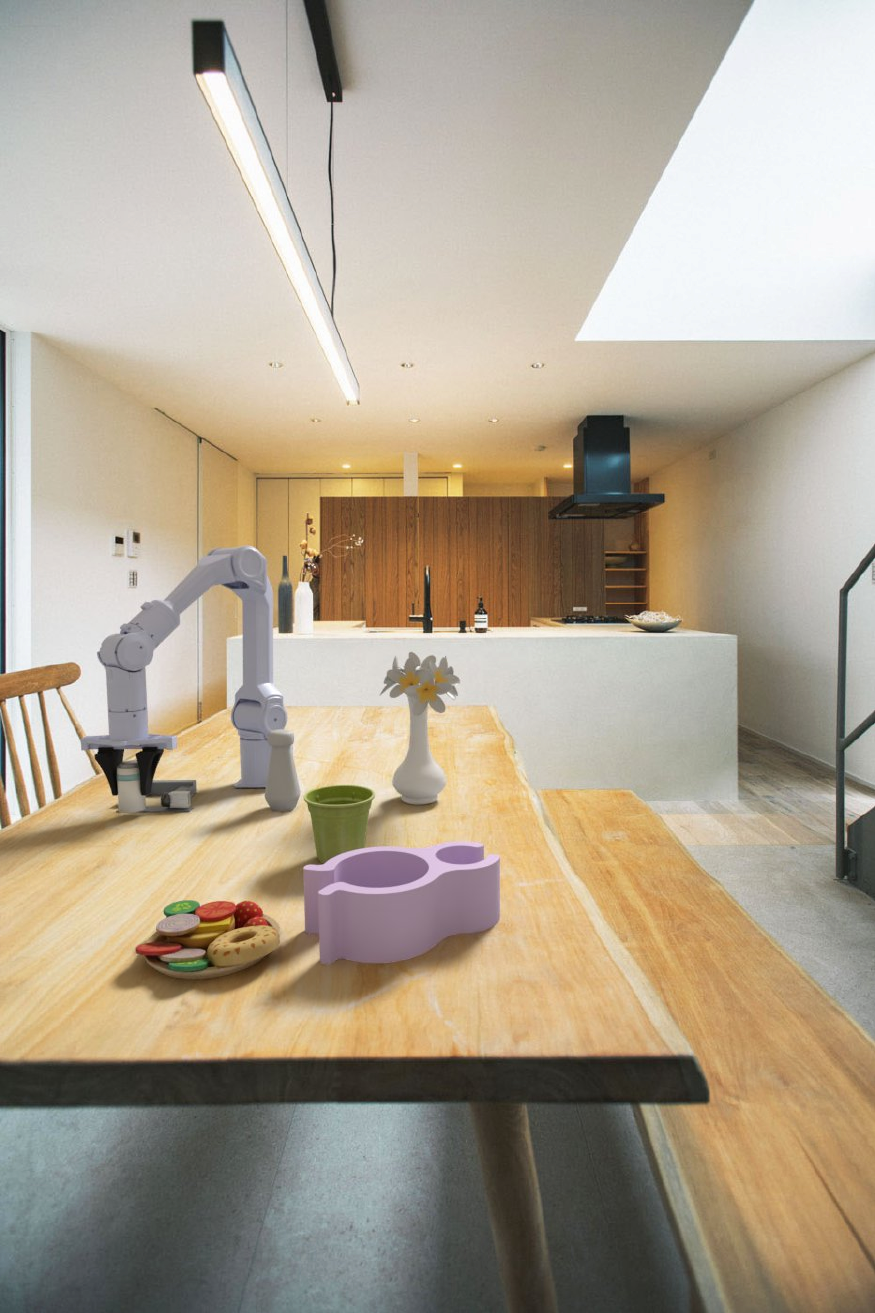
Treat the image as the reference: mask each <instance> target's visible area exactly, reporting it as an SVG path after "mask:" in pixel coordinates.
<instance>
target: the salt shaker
mask: <svg viewBox="0 0 875 1313" xmlns="http://www.w3.org/2000/svg"><path fill="white" fill-rule="evenodd" d="M267 741H268V745H270V746H272V748H271V756H270V763H269V771H268V777H267V783H266V787H265V791H264V798H265V802H266V803H267V804H268V806H269V809H271V811H272V812H277V813H284V812H290V811H293V810H294V809H296V807H297V804H298V801H299V799H300V797H301V793H302V791H301V786H300V782H299V781H300V780H299V778H298V773H297V768H296V764H295V759H294V753H293V754H292V749H291V744H294V742H295V734H294V732H293V731H292V730H290V729H286V728H284V729H280V730H274V731H271V732H270V733H269V734H268V738H267Z"/></svg>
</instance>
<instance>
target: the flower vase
mask: <svg viewBox="0 0 875 1313" xmlns="http://www.w3.org/2000/svg"><path fill="white" fill-rule="evenodd" d="M436 657H437V656H435V655H434V654H433V655H431V654H430V655H428V656H426V657H425V658H424V659H423V660H422V661H421V659H420V658H419V656H418V654H416V653H415V652H413V651H409V652H408V658H407V659H406V660H405V663H404V666H402V665H399V662H398V657H397V655H394V658H393V661H392V668H391V669H388V670H387V671H386V676H385V678H384V680H383V684H384V685H385V686H384V687H383V688H382V690H381V692H380V693H379V696H382V695H383V694H384V693H386V692H387V690H389V689H390V688H392V689H391V690H390V692H389V697H390V698H391V699H395V698H397V697H400V696H402V695H403V694H405V695H406V697H407V703H408V708H409V743H408V750H407V753H406V755H405V758H404V760H403V761H402V762H401V763H400V765H398V767H397V768H396V770H395V771H394V772H393V776H392V779H391V784H392V787H393V788H394V790H395V791H396V792H397V793H398V794H399V795H401V800H402V802H404V803H405V804H408V805H417V806H418V805H429V804H433V803H435V802H437V801H438V797H439V796H438V795H439V794H441V793H442V791H443V790H445V787H446V785H447V780H448V779H447V775H446V772H445V771H444V770H443V768H442V767H441V766H440V764H438V762H437V761H436V760H435V759H434V757H433V756H434V755H433V754H432V751H431V748H430V743H429V741H430V740H429V727H428V725H429V724H428V710H429V706H430V708H431V709H433V711H435V712H437V713H439V714H443V713H445V712H446V704H445V703H444V701H443V699H442V698H441V697H440V696H441V695H445V694H446V695H447V696H448V697H449V698H450V699H451V700H452V701H455V700H456V699H457V697H458V696H459V693H458V690H457V688H456V686H458V685H459V684H460V683H461V680H460V678H459V676H457V675H455V673H454V672H455V671H454V668H453V666H452V665H451V666H449V664H448V659H447V656H446V655H444V656H443V657H442V658H440V661H439V663H438V666H437V665H436V663H437V658H436Z"/></svg>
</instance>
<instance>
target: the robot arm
mask: <svg viewBox="0 0 875 1313" xmlns="http://www.w3.org/2000/svg"><path fill="white" fill-rule="evenodd" d="M218 585H220V586H223V587H225V589H226V588H227V589H228V590H231V591H232V592H233V593H234V594H235V595H236V597H237V598H239V599H240V600H241V601H242V602H241V603H242V606H241V607H242V608H241V609H242V611H241V612H242V615H241V616H242V617H241V618H242V685H241V686H240V688H239V689H238V690H237V691H236V692H235V694H234V705H233V706H232V709H231V713H230V721H231V724H232V725H233V726H232V727H234V728H235V729H236V731H237V735H238V737H239V751H240V752H239V753H240V754H239V755H240V756H239V757H240V779H239V780H238V781H237V782H236V783H234V785H233V786H234V788H236V789H237V788H266V783H267V777H268V771H269V763H270V756H271V748H272V746H270V745H268V741H267V738H268V734H269V733H270V732H271V731H274V730H280V729H286V726H287V723H288V712H287V710H286V708H285V705H284V695H283V694H282V693H281V692H280V691H279V689H278V688H277V687H276V685H275V684H274V591H273V587H272V584H271V581H270V578H269V575H268V559H267V557H266V556H264V555H263V554H262V553H261V552H260V551H259V550H258V549H257V548H256V547H254V546H252V545H242V546H236V547H227V548H225V547H223V548H222V547H216V548H213V549H211V550H210V551H209V552H208V553H207V555H204V556H203V557H201V558H199V561H198V562H197V564H196V565H195V567H194V568H193V569H192V570H191V571H190V572H189V573H188V574H187V575H186V576H185V577H184V578H183V579H182V580H181V581H180V582H179V584H178V585H177V586H176V587H175V588H174V589H173V590H172V591H171V592H170V593H169V594H168V595H167V597H165V598H164V600H162V599H153V600H151V601H145V602H144V603H142V604H141V606H140V609H141V611H140V612H139V613H137V614H136V615H135V616H134V617H133V618H132V619H131V620H129V622H128V623H123V624H122V625H120V627H119V629H120V632H119V633H112V634H110V635H108V636H107V637H105V639H104V640H102V642H101V645H100V646H101V647H100V648H99V651H97V652H96V655H97V658H98V662H99V663H100V664H101V665H102V666H103V667H104V670H105V678H106V680H105V681H106V683H105V684H106V698H107V699H106V700H107V701H106V702H107V717H108V718H107V719H108V720H107V721H108V734H105V735H87V736H84V737H81V738H80V750H81V751H90V750H97V753H95V754H94V755H93V757H94V760H95V761H96V762H97V764H98V765H99V767H100V768H101V770H102V771H103V774H104V776H105V778H106V780H107V783H108V785H109V788H110V789H109V790H110V791H111V794H112V796H117V797H118V784H117V767H118V766H119V763H121V762H124V753H125V750H139V751H138V752H136V753H135V755H134V756H135V760H137V763H138V767H139V773H140V791H141V796H142V795H147V794H149V793H150V792H151V788H152V782H153V780H154V777H155V773H156V770H157V768H158V764H159V763H160V760H161V758H162V756H163V754H164V751H165V750H167V751H172V750H175V749H177V748H178V735H169V734H168V735H167V734H154V733H149V719H148V718H149V716H148V698H147V697H148V696H147V694H148V693H147V673H146V670H147V669H146V668H147V666H149V665H150V664H151V663H152V661H153V657H154V651H155V650H156V649H157V648H158V647H159V646H160V645H161V644H162V643H163V642H164V641H165V640H166V639H167V638H168V637H169V636H170V635H171V634H172V633H173V632H174V631H175V630H176V629H177V628H178V627H179V626H180V624H181V614H182V613H184V611H185V610H187V609H188V608H189V607H190V606H192V605H193V604H194V603H195V602H196V601H197V600H198V599H200V598H201V597H202V596H203V595H204V594H206V592H208V590H210V589H211V588H212V587H214V586H218ZM293 744H294V743H293ZM293 744H291V749H292V754H293V755H294V748H293V746H294V745H293ZM147 796H148V795H147Z"/></svg>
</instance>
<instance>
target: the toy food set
mask: <svg viewBox="0 0 875 1313" xmlns="http://www.w3.org/2000/svg"><path fill="white" fill-rule="evenodd" d="M163 914H164V916H165V918H163V919H161V920H159V921H158V922H157V923H156V926H155V932H154V933H153V934H152V935H151V936H150V937H148V939H147V940H146V942H145V943H142V944H138V945H137V946H136V947H135V954H138V955H142V956H143V957H144V959H145V961H146V963H147V964H148V965H149V966H150V967H152V968H153V969H155V970H156V971H158V972H159V973H161V974H162V975H166V976H168V977H172V978H174V979H175V978H176V979H181V980H182V979H183V980H207V979H213V978H219V977H223V976H228V975H230V974H231V975H232V974H234V973H237V972H240V971H243V970H245V969H247V968H250V967H251V966H253V965H254V964H255V965H256V964H257V963H258V962H259V961H261V960H262V959H264V958H265V956H267V955H269V954H270V953H272V952H274V951H275V950H276V949H278V947H279V946H280V943H281V939H280V937H281V934H282V933H281V932H282V931H281V929H282V928H281V926H280V924H279V922H277V920H276V919H274V918H273V917H271V916H269V915H267V914H265V913H264V911H263V909H262V907H261V906H259V904H257V903H256V902H254V901H251V900H243V901H240V902H238V903H237V904H236V903H235V901H226V900H216V901H211V902H207V903H204V904H202V905H200V902H199V901H196V900H191V899H188V900H187V899H186V900H179V901H174V902H172V903H169V904H168V905H166V906H165V907H164V908H163Z"/></svg>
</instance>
